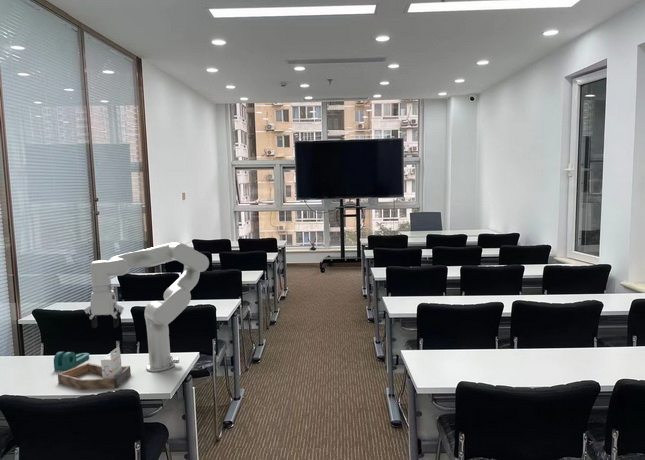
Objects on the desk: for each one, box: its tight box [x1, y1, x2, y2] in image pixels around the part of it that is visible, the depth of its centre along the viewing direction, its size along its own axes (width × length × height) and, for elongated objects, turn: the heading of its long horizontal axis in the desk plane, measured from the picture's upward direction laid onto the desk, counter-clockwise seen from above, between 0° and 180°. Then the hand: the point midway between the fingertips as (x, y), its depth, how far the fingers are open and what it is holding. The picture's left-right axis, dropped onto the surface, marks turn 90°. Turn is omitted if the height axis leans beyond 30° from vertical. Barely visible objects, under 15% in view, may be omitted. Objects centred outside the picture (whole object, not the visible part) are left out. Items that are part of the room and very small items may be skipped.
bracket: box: [53, 351, 90, 372], centre depth 226 cm, size 18×7×8 cm, turn 170°
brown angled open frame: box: [57, 362, 132, 391], centre depth 204 cm, size 30×21×4 cm
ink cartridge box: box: [100, 346, 123, 379], centre depth 201 cm, size 9×5×15 cm, turn 179°
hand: (105, 327), depth 200 cm, fingers open, 9 cm apart
